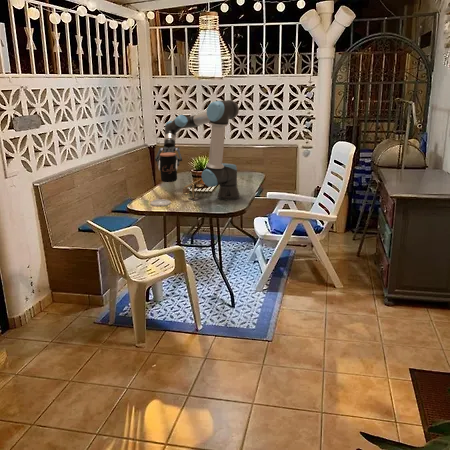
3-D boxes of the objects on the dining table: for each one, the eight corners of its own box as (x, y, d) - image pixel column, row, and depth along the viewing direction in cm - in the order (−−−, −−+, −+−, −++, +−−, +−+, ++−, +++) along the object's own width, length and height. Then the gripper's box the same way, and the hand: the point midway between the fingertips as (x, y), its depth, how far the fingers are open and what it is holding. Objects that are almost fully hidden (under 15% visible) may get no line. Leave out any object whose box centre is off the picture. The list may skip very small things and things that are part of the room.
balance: (206, 198, 323) (205, 179, 319) (186, 202, 312) (185, 183, 308) (200, 196, 327) (199, 178, 323) (180, 201, 316) (179, 182, 312)
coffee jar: (161, 182, 312) (159, 155, 306) (160, 179, 322) (159, 152, 316) (177, 182, 313) (176, 154, 308) (176, 178, 323) (175, 152, 318)
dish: (174, 203, 310) (174, 201, 309) (158, 207, 301) (158, 205, 301) (162, 200, 319) (162, 198, 318) (146, 204, 310) (146, 201, 310)
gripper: (187, 145, 325) (186, 172, 315) (153, 145, 326) (151, 172, 316) (186, 138, 319) (184, 166, 309) (151, 138, 319) (149, 166, 309)
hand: (167, 169), depth 312 cm, fingers closed on coffee jar, 11 cm apart
